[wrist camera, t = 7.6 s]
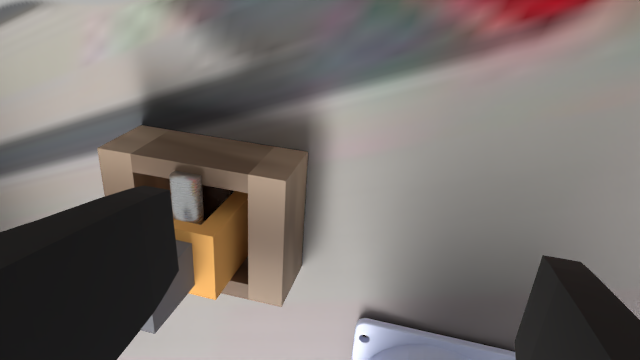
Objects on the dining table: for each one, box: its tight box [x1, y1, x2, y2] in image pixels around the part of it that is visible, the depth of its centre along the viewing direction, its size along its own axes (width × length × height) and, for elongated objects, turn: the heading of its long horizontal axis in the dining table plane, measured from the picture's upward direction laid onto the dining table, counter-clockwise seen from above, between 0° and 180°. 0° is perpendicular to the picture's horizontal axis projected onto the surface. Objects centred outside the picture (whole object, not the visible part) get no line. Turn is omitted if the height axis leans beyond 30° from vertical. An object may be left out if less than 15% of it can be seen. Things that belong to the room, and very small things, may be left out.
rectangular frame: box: [97, 125, 308, 307], centre depth 20 cm, size 6×8×4 cm
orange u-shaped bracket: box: [141, 191, 248, 334], centre depth 19 cm, size 3×3×7 cm
